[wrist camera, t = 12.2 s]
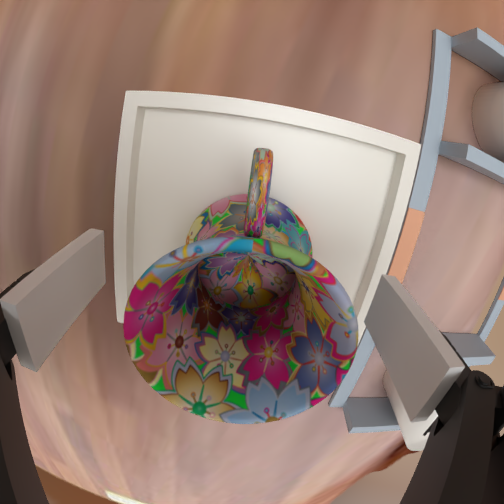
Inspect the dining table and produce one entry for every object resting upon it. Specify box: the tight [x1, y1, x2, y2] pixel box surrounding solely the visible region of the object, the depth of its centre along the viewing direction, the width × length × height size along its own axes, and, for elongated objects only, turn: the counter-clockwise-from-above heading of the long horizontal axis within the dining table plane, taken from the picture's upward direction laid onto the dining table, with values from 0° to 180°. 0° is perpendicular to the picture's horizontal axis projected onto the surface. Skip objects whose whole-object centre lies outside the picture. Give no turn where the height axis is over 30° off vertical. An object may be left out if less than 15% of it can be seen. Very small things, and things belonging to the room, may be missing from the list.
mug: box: [123, 148, 359, 424], centre depth 15 cm, size 12×9×11 cm
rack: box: [328, 28, 504, 433], centre depth 19 cm, size 16×35×4 cm, turn 170°
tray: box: [114, 91, 421, 344], centre depth 20 cm, size 19×17×2 cm
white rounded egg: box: [383, 370, 438, 451], centre depth 22 cm, size 7×7×8 cm
